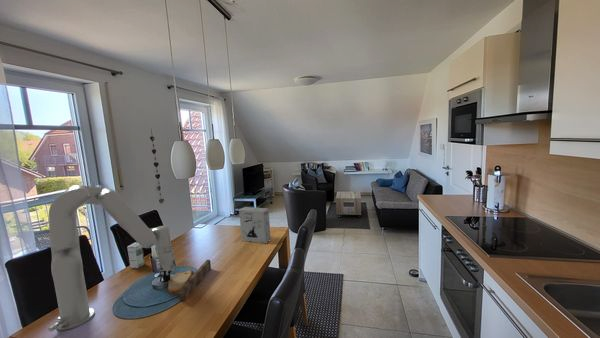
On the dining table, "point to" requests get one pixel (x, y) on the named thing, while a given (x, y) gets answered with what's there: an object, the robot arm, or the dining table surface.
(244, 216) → the cereal box
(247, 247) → the dining table surface
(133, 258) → the syrup box
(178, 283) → the bread slice
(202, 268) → the walnut board
